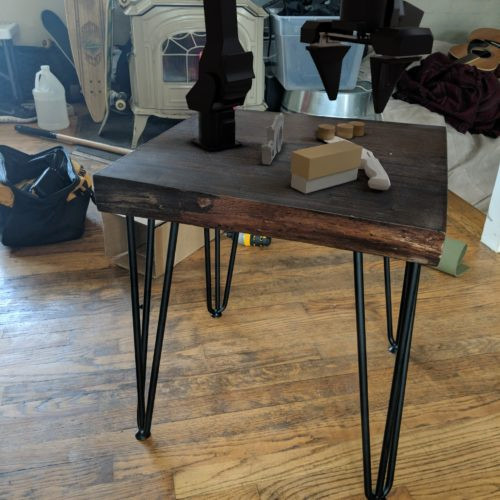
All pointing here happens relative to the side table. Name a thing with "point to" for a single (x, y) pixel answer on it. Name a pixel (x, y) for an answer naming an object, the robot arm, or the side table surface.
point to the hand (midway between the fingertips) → (354, 106)
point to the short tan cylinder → (344, 131)
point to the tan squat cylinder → (326, 131)
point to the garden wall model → (273, 138)
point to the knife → (370, 168)
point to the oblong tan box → (325, 165)
